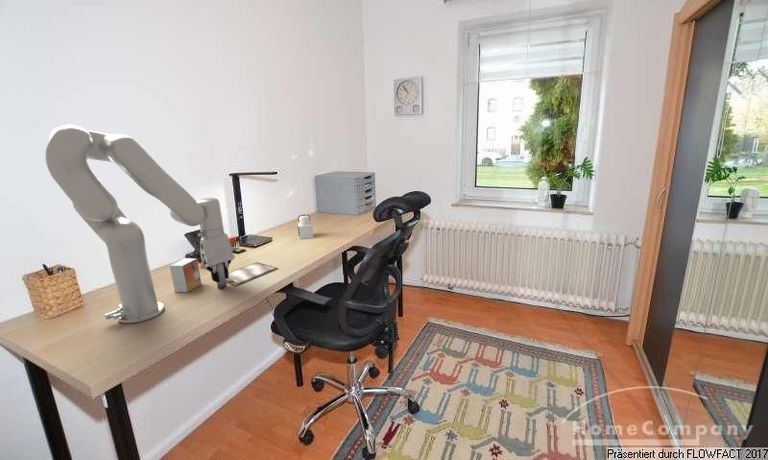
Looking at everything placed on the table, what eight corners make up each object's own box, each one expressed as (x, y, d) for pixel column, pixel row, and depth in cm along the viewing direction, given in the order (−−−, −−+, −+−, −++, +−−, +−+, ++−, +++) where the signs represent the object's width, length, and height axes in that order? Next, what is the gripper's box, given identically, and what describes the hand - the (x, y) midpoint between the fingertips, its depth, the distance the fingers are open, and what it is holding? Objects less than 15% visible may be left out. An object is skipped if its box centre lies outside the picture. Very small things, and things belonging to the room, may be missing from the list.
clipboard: (235, 286, 137) (235, 283, 137) (214, 278, 145) (214, 276, 145) (277, 268, 153) (277, 266, 153) (257, 262, 161) (256, 260, 161)
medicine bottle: (298, 235, 199) (296, 214, 196) (311, 234, 201) (309, 213, 198) (299, 239, 193) (297, 217, 190) (313, 237, 195) (311, 216, 192)
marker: (220, 289, 135) (215, 256, 132) (215, 287, 137) (209, 255, 133) (228, 286, 138) (223, 253, 134) (223, 284, 140) (218, 252, 136)
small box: (187, 292, 134) (182, 266, 131) (174, 292, 135) (168, 265, 132) (202, 283, 141) (197, 258, 138) (189, 283, 142) (184, 257, 139)
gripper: (196, 240, 123) (205, 290, 128) (239, 228, 136) (246, 274, 141) (184, 237, 127) (194, 285, 132) (227, 225, 140) (234, 270, 145)
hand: (220, 279), depth 136 cm, fingers closed on marker, 3 cm apart
